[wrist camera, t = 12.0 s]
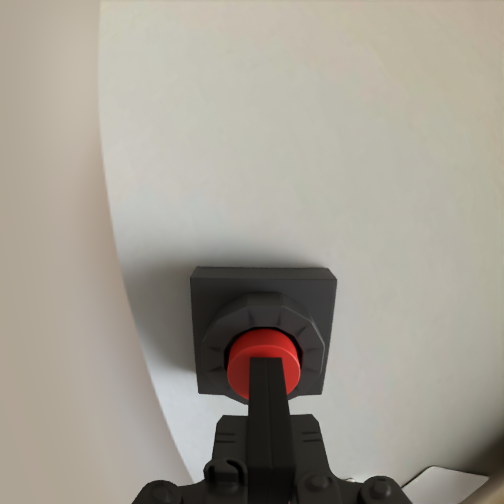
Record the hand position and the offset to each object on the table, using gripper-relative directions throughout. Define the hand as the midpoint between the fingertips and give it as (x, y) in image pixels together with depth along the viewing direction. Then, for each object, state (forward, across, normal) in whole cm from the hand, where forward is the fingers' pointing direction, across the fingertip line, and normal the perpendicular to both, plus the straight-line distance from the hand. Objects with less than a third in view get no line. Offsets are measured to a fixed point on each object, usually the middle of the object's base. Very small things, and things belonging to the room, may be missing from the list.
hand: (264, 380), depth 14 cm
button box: (+6, 0, 0) cm, 6 cm away
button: (+2, 0, 0) cm, 2 cm away
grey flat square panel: (+6, +23, -36) cm, 43 cm away
